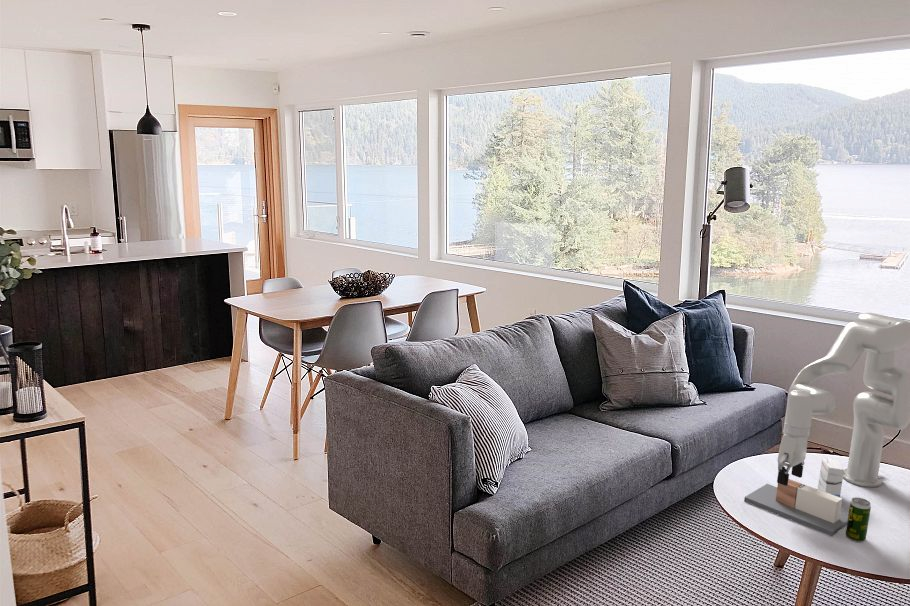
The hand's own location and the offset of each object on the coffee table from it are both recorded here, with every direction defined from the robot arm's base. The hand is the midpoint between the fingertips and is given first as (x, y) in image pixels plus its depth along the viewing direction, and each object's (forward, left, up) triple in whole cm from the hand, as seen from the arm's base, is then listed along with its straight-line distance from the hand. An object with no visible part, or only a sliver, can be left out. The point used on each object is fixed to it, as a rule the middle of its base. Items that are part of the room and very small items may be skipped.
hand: (789, 480), depth 236 cm
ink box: (-19, +5, -10) cm, 22 cm away
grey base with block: (-1, +3, -10) cm, 10 cm away
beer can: (+2, +22, -10) cm, 24 cm away
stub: (-1, 0, -8) cm, 8 cm away
